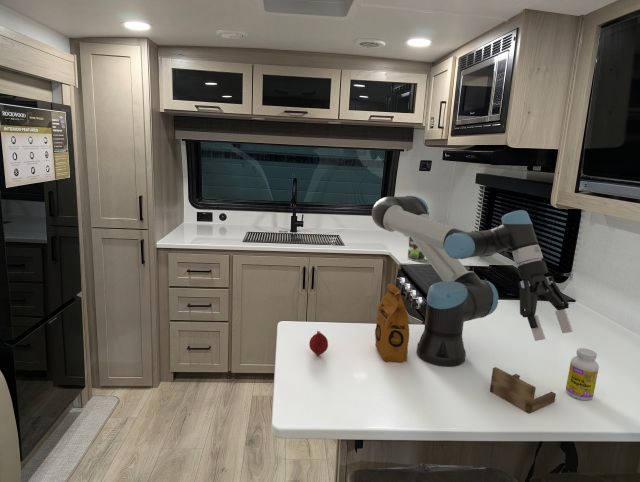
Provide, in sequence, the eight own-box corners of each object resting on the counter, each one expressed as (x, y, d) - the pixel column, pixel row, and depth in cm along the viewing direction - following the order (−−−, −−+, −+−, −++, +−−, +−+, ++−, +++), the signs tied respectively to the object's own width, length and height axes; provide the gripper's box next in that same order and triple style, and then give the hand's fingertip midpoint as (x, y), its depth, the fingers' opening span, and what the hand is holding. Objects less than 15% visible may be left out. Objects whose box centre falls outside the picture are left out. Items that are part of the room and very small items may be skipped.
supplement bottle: (563, 395, 124) (570, 351, 121) (567, 385, 129) (574, 344, 126) (591, 404, 120) (599, 359, 117) (594, 394, 125) (602, 351, 122)
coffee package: (378, 363, 137) (383, 294, 133) (372, 345, 149) (376, 282, 145) (410, 364, 138) (417, 295, 133) (401, 346, 150) (407, 282, 145)
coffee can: (422, 262, 265) (424, 238, 262) (405, 259, 269) (407, 236, 266) (426, 258, 274) (428, 235, 271) (410, 256, 278) (412, 233, 275)
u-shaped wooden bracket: (489, 391, 124) (492, 368, 122) (514, 381, 130) (518, 359, 128) (529, 413, 114) (533, 388, 113) (554, 402, 120) (558, 378, 118)
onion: (327, 351, 144) (328, 327, 142) (327, 359, 138) (329, 335, 136) (308, 350, 143) (309, 327, 142) (308, 359, 138) (310, 334, 136)
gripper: (515, 261, 120) (540, 341, 115) (565, 256, 134) (590, 327, 129) (492, 269, 126) (515, 345, 121) (543, 263, 140) (566, 331, 135)
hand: (554, 336), depth 125 cm, fingers open, 13 cm apart
